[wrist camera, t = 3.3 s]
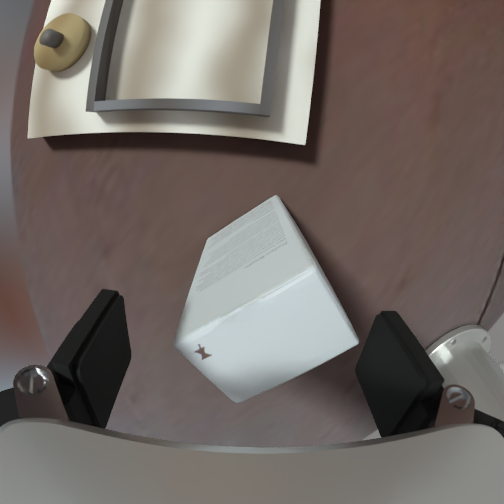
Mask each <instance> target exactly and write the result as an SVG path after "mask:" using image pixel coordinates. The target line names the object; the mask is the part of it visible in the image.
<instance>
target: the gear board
mask: <svg viewBox="0 0 504 504" xmlns="http://www.w3.org/2000/svg"><path fill="white" fill-rule="evenodd" d="M320 2H321V0H51V3H50V7H49V10H48V13H47V17H46V21H45V24H44V28H43V30H42V32H41V33H40V35H39V37H38V39H37V41H36V44H35V48H34V59H35V62H36V65H35V71H34V77H33V84H32V92H31V101H30V111H29V124H28V138H36V137H46V136H56V135H69V134H85V133H108V132H167V133H192V134H209V135H222V136H234V137H244V138H254V139H263V140H271V141H279V142H286V143H293V144H300V145H305V144H306V136H307V128H308V120H309V112H310V104H311V95H312V87H313V78H314V68H315V58H316V48H317V38H318V27H319V15H320Z"/></svg>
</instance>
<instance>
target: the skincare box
mask: <svg viewBox="0 0 504 504" xmlns="http://www.w3.org/2000/svg"><path fill="white" fill-rule="evenodd" d="M358 343H359V339H358V336H357V334H356V332H355V330H354V328H353V326H352V324H351V322H350V320H349V318H348V317H347V315H346V313H345V311H344V309H343V307H342V305H341V303H340V301H339V300H338V298H337V296H336V294H335V292H334V290H333V289H332V287H331V285H330V283H329V281H328V279H327V278H326V276H325V274H324V272H323V270H322V269H321V267H320V265H319V263H318V261H317V259H316V258H315V256H314V254H313V252H312V250H311V249H310V247H309V245H308V243H307V241H306V240H305V238H304V236H303V234H302V233H301V231H300V229H299V228H298V226H297V225H296V223H295V221H294V220H293V218H292V216H291V215H290V213H289V212H288V210H287V208H286V207H285V205H284V204H283V202H282V201H281V199H280V198H279V196H278V195H274V196H273V197H271V198H270V199H268V200H267V201H265V202H263V203H262V204H260V205H259V206H257V207H256V208H254V209H252V210H251V211H249V212H248V213H246V214H245V215H243V216H241V217H240V218H238V219H237V220H235V221H234V222H232V223H231V224H229V225H228V226H226V227H225V228H223V229H222V230H220V231H219V232H217V233H216V234H214V235H213V236H211V237H209V238H208V239H207V241H206V244H205V247H204V250H203V253H202V256H201V259H200V262H199V265H198V268H197V271H196V274H195V276H194V279H193V283H192V285H191V288H190V291H189V295H188V298H187V301H186V304H185V307H184V310H183V313H182V316H181V319H180V322H179V325H178V329H177V332H176V335H175V339H174V342H173V346H174V347H175V348H176V349H177V350H178V351H179V352H180V353H181V354H182V355H184V356H185V357H186V358H187V359H188V360H189V361H190V362H191V363H192V364H193V365H194V366H195V367H196V368H197V369H198V370H199V371H200V372H201V373H203V374H204V375H205V376H206V377H207V378H208V379H209V380H210V381H211V382H212V383H213V384H214V385H215V386H217V387H218V388H219V389H220V390H221V391H222V392H223V393H224V394H226V395H227V396H228V397H229V398H230V399H232V400H233V401H234V402H236V403H240V402H242V401H245V400H247V399H249V398H251V397H253V396H256V395H258V394H260V393H263V392H265V391H267V390H269V389H271V388H274V387H276V386H278V385H280V384H282V383H284V382H287V381H289V380H291V379H293V378H295V377H297V376H299V375H301V374H303V373H305V372H307V371H309V370H311V369H313V368H315V367H317V366H319V365H321V364H322V363H324V362H326V361H328V360H330V359H332V358H334V357H336V356H337V355H339V354H341V353H343V352H345V351H346V350H348V349H350V348H352V347H354V346H356V345H357V344H358Z"/></svg>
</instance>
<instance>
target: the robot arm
mask: <svg viewBox="0 0 504 504" xmlns="http://www.w3.org/2000/svg"><path fill="white" fill-rule="evenodd" d="M490 350H491V338H490V335H489V334H488V332H487V331H486V330H485V329H484V328H482V327H481V326H479V325H466V326H462V327H459V328H457V329H455V330H452V331H450V332H449V333H447V334H446V335H444V336H442V337H441V338H440V339H438V340H437V341H436V342H434V343H433V344H432V345H431V346H430V347H429V348H428V349H426V350H424V349H423V347H422V346H421V344H420V343H419V342H418V340H417V339H416V337H415V336H414V335H413V333H412V332H411V330H410V329H409V328H408V326H407V325H406V324H405V322H404V321H403V320H402V318H401V317H400V315H399V314H398V313H397V312H396V311H382V312H381V313H380V314H379V315H377V316H376V317H375V320H374V323H373V325H372V328H371V331H370V333H369V336H368V338H367V341H366V343H365V346H364V348H363V351H362V353H361V356H360V358H359V360H358V363H357V365H356V375H357V378H358V380H359V383H360V385H361V388H362V390H363V392H364V395H365V397H366V400H367V402H368V405H369V407H370V410H371V412H372V415H373V417H374V420H375V423H376V425H377V428H378V430H379V433H380V436H381V437H382V438H377V439H371V440H364V441H357V442H349V443H340V444H330V445H319V446H304V447H273V448H258V447H228V446H213V445H201V444H191V443H182V442H174V441H167V440H161V439H154V438H149V437H143V436H137V435H132V434H126V433H121V432H117V431H112V430H108V429H105V428H106V425H107V422H108V419H109V417H110V414H111V411H112V408H113V405H114V403H115V400H116V397H117V395H118V392H119V389H120V387H121V384H122V381H123V379H124V376H125V373H126V371H127V368H128V366H129V363H130V360H131V348H130V342H129V336H128V329H127V322H126V314H125V306H124V299H123V296H121V295H119V293H118V291H114V290H107V289H102V290H101V292H100V293H99V294H98V296H97V297H96V298H95V300H94V301H93V302H92V304H91V305H90V306H89V308H88V309H87V311H86V312H85V313H84V315H83V316H82V318H81V319H80V320H79V321H78V322H77V323H76V324H75V325H74V327H73V328H72V330H71V331H70V333H69V334H68V335H67V337H66V338H65V340H64V341H63V343H62V344H61V346H60V347H59V349H58V350H57V352H56V353H55V355H54V356H53V358H52V360H51V361H50V363H49V364H48V366H47V367H45V366H42V365H29V366H26V367H24V368H22V369H21V370H19V371H18V373H17V374H16V375H15V377H14V380H13V388H11V389H7V390H4V391H1V392H0V504H504V372H503V371H504V362H503V361H502V362H498V363H497V362H496V361H495V360H494V359H493V358H492V356H491V355H490Z"/></svg>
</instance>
